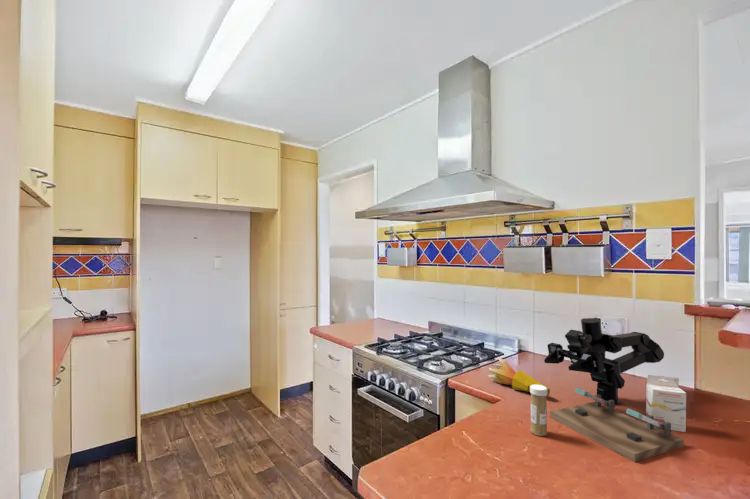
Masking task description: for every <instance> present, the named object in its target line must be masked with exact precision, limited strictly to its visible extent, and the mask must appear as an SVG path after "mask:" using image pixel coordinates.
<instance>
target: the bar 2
mask: <svg viewBox="0 0 750 499" xmlns="http://www.w3.org/2000/svg"><path fill="white" fill-rule="evenodd" d="M625 413H626V415H628V416H631V417H633V418H635V419H636V418H637V419H638V420H639V419H640V421H642V422H643V421H644V422H645V423H647V422H648V423H650V424H652V425H654V426H656V427H659V428H658V429H661V430H663V431H664V424H662V423H660V422H657V421H655V420H653V419H651V418H648V417H646V415H644V414H642V413H640V412H638V411H635V410H634V409H631V408H627V409H626V411H625Z"/></svg>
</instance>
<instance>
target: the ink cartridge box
mask: <svg viewBox="0 0 750 499" xmlns="http://www.w3.org/2000/svg"><path fill="white" fill-rule="evenodd" d="M646 377H647V380H646V382H647V383H646V385H645V386H646V390H645V391H646V393H645V395H646V398H645V399H646V402H645V416H646V417H647V416H649V415H652V416H654V420H655V421H657V422H660V423H662V424H664V423H666V422H669V423H671V431H673V432H674V431H675V432H682V433H686V432H687V427H686V426H687V424H686V423H687V392H685V391H684V390H683V389H681V388H680V387H679V384H680V383H679V382H680V378H679V377H675V376H668V375H667V376H666V375H657V374H656V375H655V374H647V376H646ZM661 380H662V381H661ZM663 380H665V381H663ZM654 427H656V426H654ZM656 428H658V429H660V428H659V427H656Z"/></svg>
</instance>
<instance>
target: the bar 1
mask: <svg viewBox="0 0 750 499" xmlns="http://www.w3.org/2000/svg"><path fill="white" fill-rule="evenodd" d="M574 393H577V394H579V395H581V396H584V397H586V398H589V399H591V400H593V401H594V402H595V401H597V402H599V403H601V405H604V406H606V407H608V401H605V400H603V399H601V398H598V397H596V396H595V395H593V394H591V393H590V392H588V391H586V390H583V389H581V388H578V387H575V390H574Z"/></svg>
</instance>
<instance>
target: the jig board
mask: <svg viewBox="0 0 750 499" xmlns="http://www.w3.org/2000/svg"><path fill="white" fill-rule="evenodd" d="M594 396H596V397H598V398H601V395H597V394H595V395H594ZM549 413H550V415H549V416H550V417H549V418H551V419H552V420H554V421H556V422H558V423H560V424H562V425H564V426H566V427H567V428H570V429H571V430H573V431H575V432H577V433H578V434H581V435H583V436H585V437H587V438H588V439H589V440H592V441H594V442H595V443H598V444H599V445H601V446H603V447H604V448H605V447H606V448H607V449H609V450H611V451H613V452H614V453H616V454H618V455H620V456H622V457H624V458H626V459H628V460H630V461H631V462H633V463H636V462H639V461H643V460H646V459H648V458H652V457H655V456H658V455H661V454H665V453H668V452H671V451H674V450H677V449H680V448H683V447H684V446H685V443H684V442H685V440H684V438H681V437H679V436H677V435H675V434H672V430H671V423H669V422H666V423H664V430H663V429H661V428H656V427H654V425H652V424H650V423H648V422H645V421H644V422H643V420H639V419H638V418H637V419H636V418H635V417H633V416H631V415H628V414H624V413H622V412H619V411H618V410H615V405H614V400H608V406H606V405H604V404H601V403H599V402H597V401H595V400H594V401H591V402H588V403H587V402H586V403H582V404H578V405H573V406H569V407H564V408H558V409H553V410H551V411H550V412H549ZM647 417H648V418H651V419H653V420H654V416H652V415H649V416H647Z"/></svg>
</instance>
